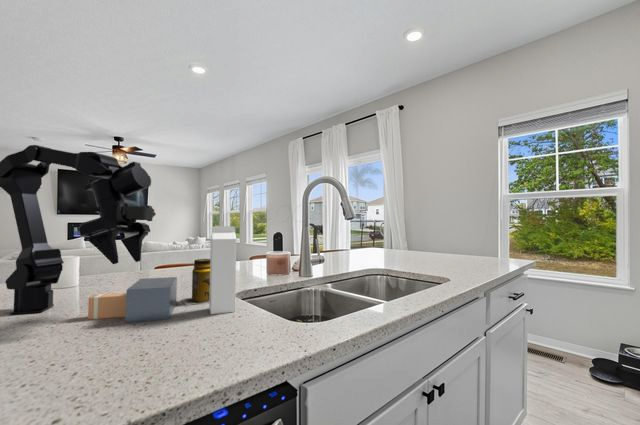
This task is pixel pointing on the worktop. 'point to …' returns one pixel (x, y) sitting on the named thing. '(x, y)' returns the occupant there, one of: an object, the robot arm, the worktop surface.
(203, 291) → the condiment
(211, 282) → the milk
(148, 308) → the gray block
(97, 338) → the worktop surface
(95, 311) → the tan banded carton
